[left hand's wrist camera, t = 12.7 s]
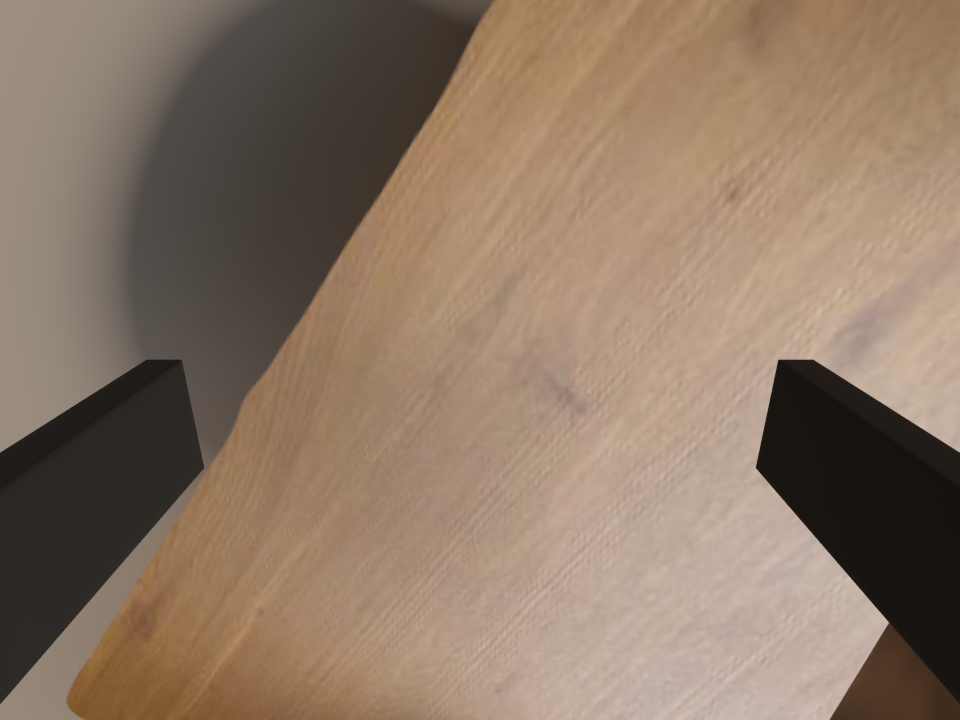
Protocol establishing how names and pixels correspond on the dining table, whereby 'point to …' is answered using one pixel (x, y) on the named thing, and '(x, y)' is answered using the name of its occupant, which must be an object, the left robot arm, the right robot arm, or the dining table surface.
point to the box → (896, 687)
